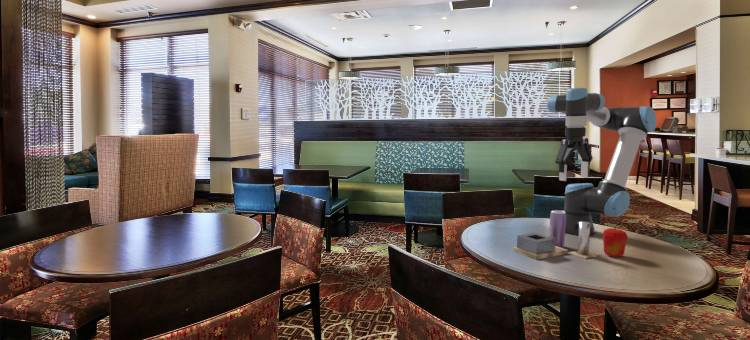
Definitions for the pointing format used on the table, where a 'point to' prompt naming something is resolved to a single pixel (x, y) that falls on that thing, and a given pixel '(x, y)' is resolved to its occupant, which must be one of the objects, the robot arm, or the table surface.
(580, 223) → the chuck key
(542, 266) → the table surface
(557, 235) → the beverage can
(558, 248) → the oak board
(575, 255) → the cork coaster
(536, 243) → the socket block
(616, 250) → the apple
